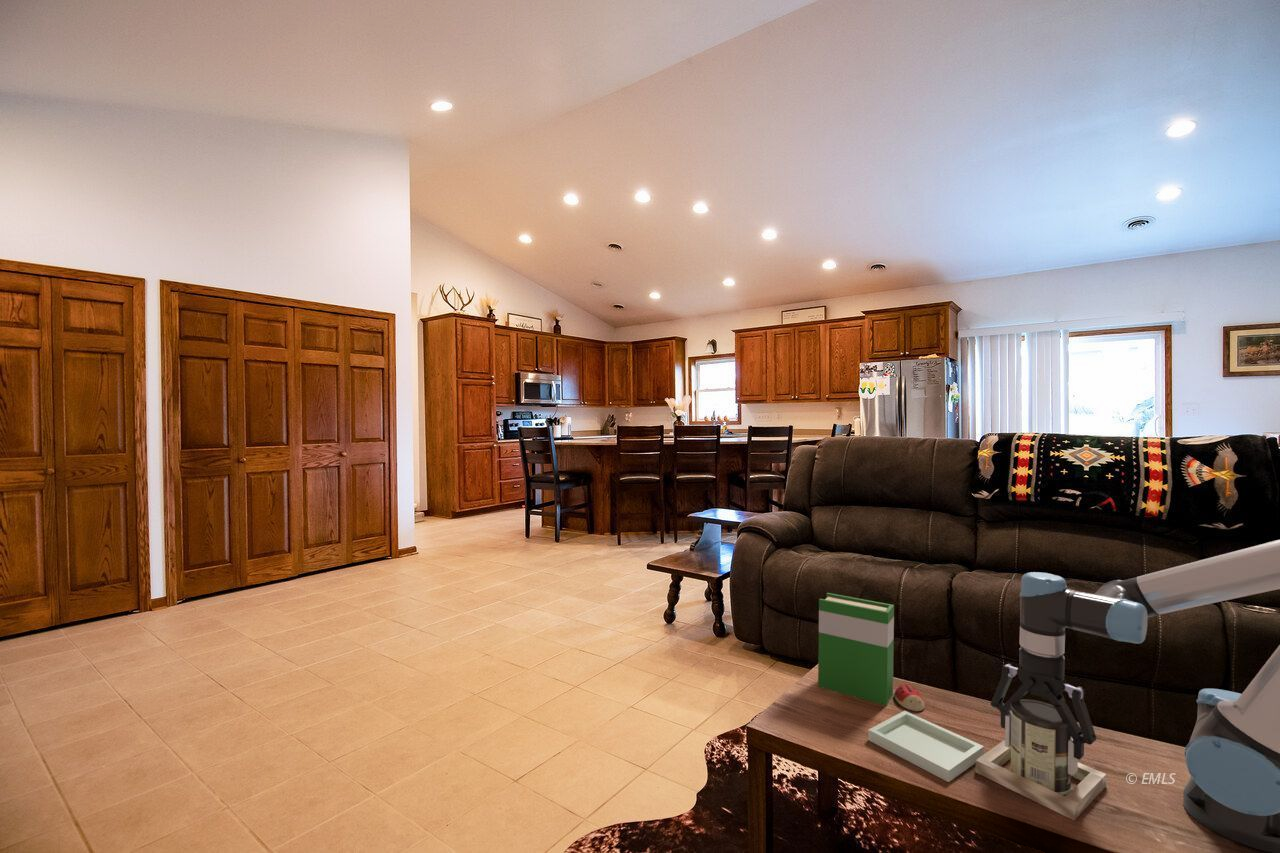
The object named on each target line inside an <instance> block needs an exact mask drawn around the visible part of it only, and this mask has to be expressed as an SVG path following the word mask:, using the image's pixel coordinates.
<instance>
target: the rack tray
mask: <svg viewBox="0 0 1280 853" xmlns="http://www.w3.org/2000/svg"><path fill="white" fill-rule="evenodd" d="M867 732H868V736H867V738H868V739H867V740H868V741H869V742H871V743H873V744H876V745H877V746H879V747H881V748H882V749H885V750H887V751H888V752H890V753H892V754H894V755H896V756H898V757H900V758H901V759H903V760H905V761H907V762H909V763H911V764H913V765H915V766H917V767H919V768H921V769H922V770H924V771H926V772H928V773H930V774H932V775H934V776H936V777H938V778H939V779H941V780H943V781H945V782H947V783H950V782H952V781H953V780H954V779H955V778H957V777H959V776H960V775H961V774H962V773H964V772H965V771H967V770H968V769H969V768H970V767H972V766H973V765H976V760H977V759H978V758H980V757H981V756H982V755H984V754H985V746H984V745H982V744H979V743H978V742H975V741H974V740H973V741H972V740H971V739H969V738H966V737H965V736H962V735H960V734H958V733H955V732H954V731H951V730H949V729H946V728H944V727H942V726H940V725H937V724H935V723H933V722H931V721H928V720H927V719H924V718H922V717H920V716H919V715H918V716H917V715H915V714H913V713H911V712H909V711H906V710H903V711H901V712H899V713H897V714H895V715H893V716H891V717H889V718H888V719H886V720H884V721H882V722H880V723H879V724H877V725H875V726H873V727H871V728H869V729H868V731H867Z"/></svg>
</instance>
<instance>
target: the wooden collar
mask: <svg viewBox="0 0 1280 853" xmlns="http://www.w3.org/2000/svg"><path fill="white" fill-rule="evenodd" d="M1009 760H1011V747H1009V748H1008V747H1006V746H1005V739H1004V740H1002V741H1000V742H999V743H998V744H997V745H995V746H994V747H992V748H991V749H989V750H988V751H987V752H984V755H982V756H981V757H980V758H978V759H977V760H976V763H975V773H976V774H978V775H980V776H982V777H985V778H987V779H989V780H990V781H993V782H995V783H997V784H999V785H1001V786H1003V787H1005V788H1006V789H1008V790H1010V791H1013V792H1015V793H1016V794H1017V793H1018V794H1019V795H1021V796H1023V797H1025V798H1027V799H1029V800H1031V801H1034V802H1036V803H1037V804H1039V805H1042V806H1043V807H1046V808H1047V809H1050V810H1052V811H1054V812H1055V813H1058V814H1060V815H1062V816H1064V817H1066V818H1068V819H1070V820H1072V821H1075V820H1077V819H1078V817H1079V816H1080V815H1081V814H1082V813H1083V812H1084V811H1085V810H1086V808H1087V807H1089V805H1091V803H1092V802H1093V801H1094V800H1095V799H1096V798H1097V797H1098V796H1099V794H1101V792H1103V790H1104V789H1106V787H1107V773H1104V772H1102V771H1101V770H1097V769H1095V768H1094V767H1093V768H1092V767H1091V766H1088V765H1085V764H1083V763H1081V762H1079V761H1078V771H1077V772H1076V773H1075V774H1074V775H1073V776H1072V775H1071V778H1074V779H1077V780H1078V781H1080V782H1079V783H1078V784H1077V785H1076V786H1075V787H1074V788H1073V789H1071V792H1070V793H1069V794H1067V795H1060V794H1058V793H1056V792H1054V791H1052V790H1050V789H1048V788H1045V787H1043V786H1041V785H1039V784H1037V783H1035V782H1033V781H1030V780H1028V779H1026V778H1024V777H1022V776H1020V775H1018V774H1015V773H1013V772H1011V771H1010V769H1007V768H1005V767H1003V765H1004V764H1006V763H1007V762H1008V761H1009Z"/></svg>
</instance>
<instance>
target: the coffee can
mask: <svg viewBox="0 0 1280 853" xmlns="http://www.w3.org/2000/svg"><path fill="white" fill-rule="evenodd" d="M1010 712H1011V758H1010V768H1009V771H1011V772H1013V773H1015V774H1018V775H1020V776H1022V777H1024V778H1026V779H1028V780H1030V781H1033V782H1035V783H1037V784H1039V785H1041V786H1043V787H1045V788H1048V789H1050V790H1052V791H1054V792H1056V793H1058V794H1060V795H1063V796H1067V795H1068V794H1069V793H1070V792H1071V791H1072V776H1071V775H1070V774H1068V741H1069V740H1070V739H1071V738H1072V737H1071V735H1070V733H1069V731H1068V730H1067V727H1068V724H1067V723H1064V722H1063V721H1062V719H1061V717H1060V715H1059V714H1058V712H1057V710H1056V708H1055V707H1054V706H1053V705H1052V704H1051V703H1047V702H1045V701H1041V700H1037V699H1030V698H1029V699H1028V698H1022V699H1021V700H1020V701H1019V702H1017V703H1016V704H1012V703H1011V710H1010Z"/></svg>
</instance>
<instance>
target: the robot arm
mask: <svg viewBox="0 0 1280 853" xmlns="http://www.w3.org/2000/svg"><path fill="white" fill-rule="evenodd" d="M1020 580H1021V582H1020V592H1019V594H1018V595H1019V603H1020V604H1019V605H1020V606H1019V609H1020V610H1019V611H1020V612H1019V618H1020V619H1019V620H1020V621H1019V642H1018V643H1019V645H1020V648H1019V651H1018V652H1019V654H1018V655H1019V656H1018V658H1019V660H1018V662H1019V663H1018V664H1019V665H1018V667H1015V666H1013V665H1012V664H1011V663H1006V664H1005V665H1003V666H1002V667H1001V678H1000V680H999V682H998V685H997V687H996V689H995V691H994V694H993V697H992V699H991V701H990V706H991V707H992V708H995V709H997V710H998V711H999V712H1000V727H1001V728H1002V729H1004V730H1005V732H1004V740H1005V746H1006V747H1008V748H1009V747H1011V703H1012V704H1016V703H1017V702H1019V701H1020V700H1021V699H1024V697H1025V696H1026V695H1027V694H1028V693H1030V694H1029V695H1032V696H1036V697H1040V698H1042V699H1044V700H1047V701H1049V702H1050V704H1051V705H1053V706H1054V707H1055V708H1056V710H1057V712H1058V714H1059V715H1060V717H1061V719H1062V721H1063V722H1064V723H1067V724H1068V727H1067V730H1068V731H1069V733H1070V735H1071V739H1070V740H1069V741H1068V774H1070V775H1072V776H1073V775H1074V774H1075V773H1076V772H1077V771H1078V762H1079V761H1080V760H1082V759H1083V757H1084V755H1085V744H1087V745H1092V744H1094V743H1095V742H1096V741H1097V735H1096V733H1095V729H1094V726H1093V723H1092V720H1091V718H1090V714H1089V710H1088V708H1087V705H1086V703H1085V689H1084V688H1083V687H1082V686H1077V687H1075V686H1073V685H1071V684H1069V683H1067V681H1066V679H1065V669H1066V667H1065V664H1066V662H1065V661H1066V659H1065V655H1064V654H1065V653H1066V652H1065V648H1066V647H1065V646H1066V644H1065V643H1066V628H1067V629H1071V630H1073V631H1078V632H1079V631H1080V632H1082V633H1087V634H1091V635H1096V636H1100V637H1103V638H1108V639H1111V640H1115V641H1116V642H1125V643H1131V644H1142V643H1143V642H1144V641H1145V640H1146V636H1147V632H1148V623H1149V622H1148V618H1152V617H1156V616H1159V615H1163V614H1168V613H1173V612H1174V613H1175V612H1178V611H1183V610H1187V609H1192V608H1196V607H1201V606H1202V607H1203V606H1206V605H1211V604H1215V603H1220V602H1224V601H1229V600H1234V599H1238V598H1243V597H1248V596H1253V595H1257V594H1261V593H1266V592H1271V591H1276V590H1280V539H1277V540H1272V541H1268V542H1265V543H1262V544H1261V543H1260V544H1258V545H1257V544H1256V545H1254V546H1250V547H1247V548H1241V549H1238V550H1235V551H1231V552H1226V553H1223V554H1219V555H1215V556H1212V557H1211V556H1210V557H1208V558H1204V559H1199V560H1197V561H1192V562H1190V563H1189V562H1188V563H1185V564H1181V565H1177V566H1174V567H1169V568H1166V569H1162V570H1158V571H1154V572H1150V573H1146V574H1142V575H1140V576H1139V575H1138V576H1136V577H1132V578H1128V579H1124V580H1121V579H1116V580H1115V579H1114V580H1111V581H1108V582H1106V583H1103V585H1102V586H1100V587H1099V589H1098V590H1097V591H1095V593H1090V592H1084V591H1080V590H1079V591H1078V590H1076V589H1075V590H1074V589H1071V588H1068V586H1067V583H1066V582H1067V581H1066V579H1065V578H1064V577H1062V576H1060V575H1057V574H1052V573H1048V572H1039V571H1037V572H1036V571H1033V572H1032V571H1031V572H1026V573H1024V574H1023V575H1022V576H1021V579H1020ZM1016 675H1017V677H1018V678H1019V680H1020V682H1021V683H1022V685H1020V687H1018V689H1017V690H1016V691H1015V692H1014V693H1013V694H1012V695H1011V696H1010V697H1009V699H1008V700H1006V702H1005V703H1004V702H1003V701H1004V699H1005V697H1006V694H1007V692H1008V690H1009V687H1010V685H1011V682H1012V681H1013V678H1014V677H1016ZM1063 692H1067V694H1068V697H1069V698H1070V699H1071V702H1072V703H1071V704H1072V706H1073V710H1074V713H1075V716H1076V718H1077V720H1076V718H1075V717H1074V715H1073V712H1072V711H1071V709H1070V707H1069V706H1068V704H1067V702H1066V699H1065V697H1064V695H1063ZM1196 703H1197V717H1196V721H1195V725H1194V728H1193V731H1192V733H1191V736H1190V739H1189V742H1188V743H1187V744H1186V746H1185V748H1184V750H1185V751H1184V757H1185V764H1186V768H1187V771H1188V772H1189V776H1190V778H1189V779H1188V781H1187V783H1186V785H1185V787H1184V789H1183V790H1182V791H1183V793H1182V805H1183V808H1184V809H1185V811H1186V812H1187V813H1188V814H1189V815H1190V816H1191V817H1192V818H1194V819H1195V820H1196V821H1197V822H1199V823H1200V824H1201V825H1203V826H1204V827H1206V828H1208V829H1209V830H1212V831H1213V832H1214V833H1216V834H1219V835H1220V836H1223V837H1225V838H1227V839H1229V840H1231V841H1234V842H1236V843H1238V844H1241V845H1245V846H1246V847H1249V848H1253V849H1256V850H1259V851H1263V852H1267V853H1280V644H1279V645H1278V646H1277V648H1276V649H1275V650H1274V651H1273V653H1272V654H1271V656H1270V657H1269V658H1268V659H1267V661H1265V664H1264V665H1263V666H1262V667H1261V668H1260V669H1259V671H1258V673H1256V675H1255V677H1254V678H1252V680H1251V681H1250V683H1249V684H1248V685H1247V687H1246V688H1245V689H1244V691H1243V692H1242V693H1239V692H1235V691H1230V690H1225V689H1219V688H1202V689H1200V690H1199V692H1198V696H1197V699H1196ZM1072 776H1071V777H1072Z"/></svg>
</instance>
